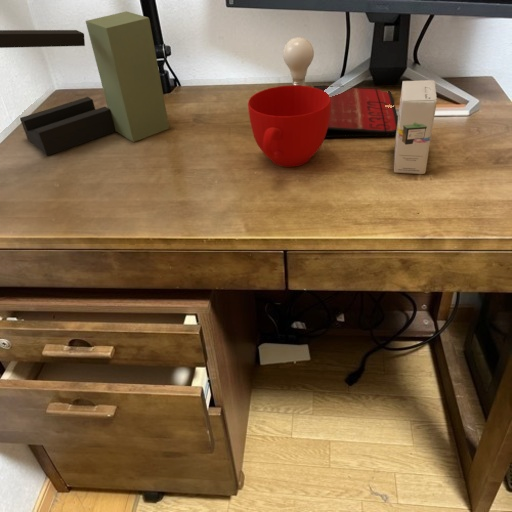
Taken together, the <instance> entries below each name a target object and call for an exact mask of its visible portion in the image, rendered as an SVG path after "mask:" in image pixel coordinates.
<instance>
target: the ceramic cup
mask: <svg viewBox="0 0 512 512" xmlns="http://www.w3.org/2000/svg"><path fill="white" fill-rule="evenodd" d="M247 108H248V117H249V121H250V126H251V131H252V135H253V137H254V141H255V142H256V144H257V146H258V148H259V149H260V151H261V152H262V153H263V154H264V155H265V156H266V158H268V159H269V160H271V162H272V163H273V164H274V165H277V166H280V167H284V168H285V167H286V168H291V167H292V168H293V167H299V166H302V165H305V164H306V163H308V162H309V161H310V159H311V158H312V157H313V156H315V154H317V152H318V151H319V149H320V148H321V147H322V145H323V143H324V140H325V138H326V137H325V136H326V133H327V129H328V124H329V118H330V108H331V100H330V97H329V95H328V94H327V93H326V92H324V91H322V90H320V89H317V88H314V87H313V86H308V85H305V86H298V85H293V84H292V85H280V86H273V87H269V88H265V89H263V90H261V91H258V92H256V93H254V94H253V95H252V96H251V97H250V98H249V99H248V101H247Z"/></svg>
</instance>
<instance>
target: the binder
mask: <svg viewBox="0 0 512 512" xmlns="http://www.w3.org/2000/svg"><path fill="white" fill-rule="evenodd" d="M329 86H330V85H313V86H312V87H314V88H317V89H320V90H322V91H324V90H325V89H327V88H328V87H329ZM353 87H354V88H352V89H350V90H348V91H346V92H343V93H341V94H338V95H335V96H332V97H330V100H331V108H330V118H329V124H328V129H327V133H326V136H325V138H343V137H344V138H345V137H346V138H347V137H373V136H374V137H375V136H376V137H386V136H396V131H397V122H398V113H397V109H396V105H395V106H394V107H392V108H390V107H389V108H388V107H385V105H389V104H390V105H392V106H393V105H394V104H395V101H394V97H393V94H392V91H391V90H390V91H391V92H390V91H388V93H387V92H383V91H380V90H379V89H378V88H380V89H381V88H382V87H364V86H363V87H360V86H353ZM377 89H378V90H377Z"/></svg>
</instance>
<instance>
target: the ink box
mask: <svg viewBox="0 0 512 512" xmlns="http://www.w3.org/2000/svg"><path fill="white" fill-rule="evenodd" d="M401 82H402V84H401V90H400V91H401V92H400V100H399V106H398V113H397V117H398V122H397V131H396V135H395V141H394V155H393V156H394V157H393V173H397V174H415V175H423V174H426V171H427V165H428V158H429V152H430V146H431V139H432V134H433V133H432V132H433V128H434V122H435V116H436V110H437V102H438V100H437V99H438V97H437V96H438V95H437V88H436V86H437V85H436V81H435V80H433V79H426V80H425V79H424V80H422V79H421V80H402V81H401Z"/></svg>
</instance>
